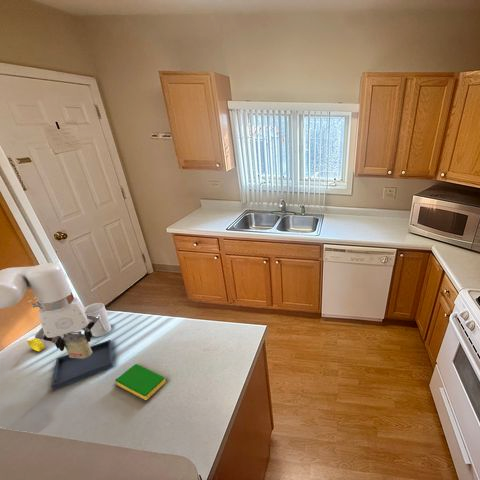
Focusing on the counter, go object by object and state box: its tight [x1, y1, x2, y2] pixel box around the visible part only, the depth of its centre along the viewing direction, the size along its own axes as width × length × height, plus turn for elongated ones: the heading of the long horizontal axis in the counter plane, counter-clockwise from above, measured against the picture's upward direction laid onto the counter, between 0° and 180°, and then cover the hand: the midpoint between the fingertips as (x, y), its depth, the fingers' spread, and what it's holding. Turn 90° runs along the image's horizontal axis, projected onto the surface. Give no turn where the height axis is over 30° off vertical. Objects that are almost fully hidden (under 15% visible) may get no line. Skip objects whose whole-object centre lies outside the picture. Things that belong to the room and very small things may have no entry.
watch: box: [26, 334, 45, 352], centre depth 94 cm, size 6×3×6 cm, turn 73°
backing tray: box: [51, 339, 114, 391], centre depth 91 cm, size 15×13×2 cm
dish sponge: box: [115, 363, 166, 401], centre depth 85 cm, size 7×14×2 cm, turn 69°
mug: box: [84, 302, 112, 338], centre depth 102 cm, size 10×7×12 cm, turn 52°
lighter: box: [62, 330, 93, 359], centre depth 87 cm, size 7×4×10 cm, turn 88°
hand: (76, 343), depth 87 cm, fingers closed on lighter, 6 cm apart
